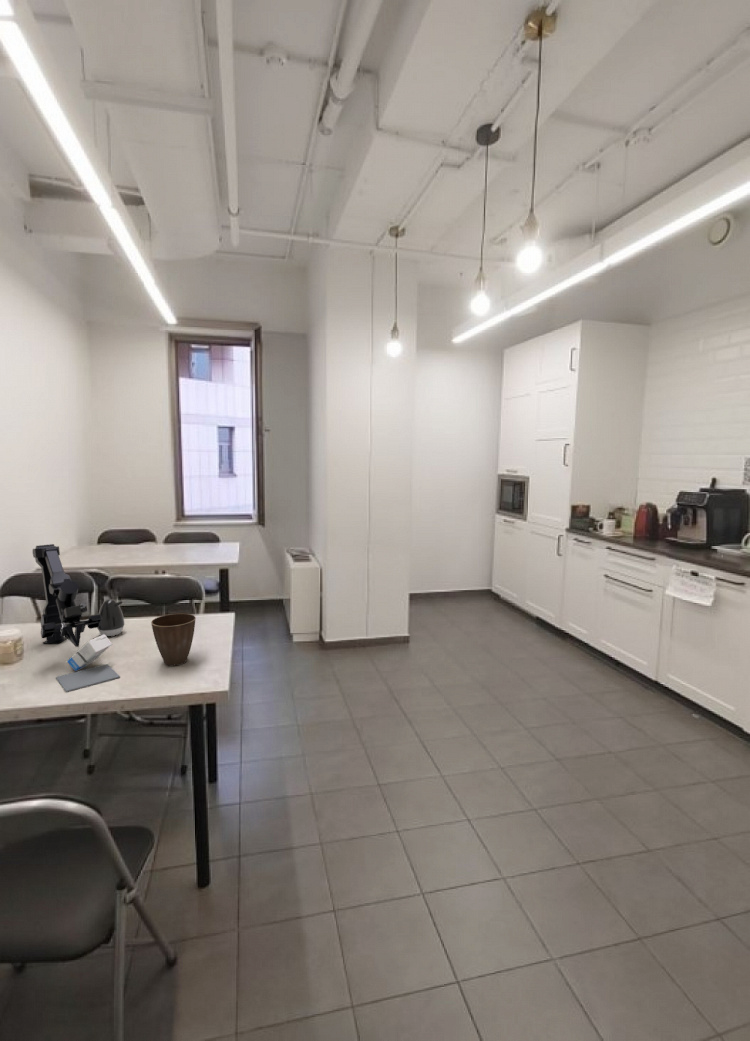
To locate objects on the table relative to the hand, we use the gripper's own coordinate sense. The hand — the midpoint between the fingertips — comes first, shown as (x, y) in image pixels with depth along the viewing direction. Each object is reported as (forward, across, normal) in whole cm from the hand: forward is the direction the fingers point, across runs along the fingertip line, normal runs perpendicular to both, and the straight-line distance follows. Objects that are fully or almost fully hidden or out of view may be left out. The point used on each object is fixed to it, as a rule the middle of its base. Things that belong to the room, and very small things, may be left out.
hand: (77, 646), depth 181 cm
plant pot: (+18, +27, -7) cm, 33 cm away
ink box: (+4, 0, +5) cm, 6 cm away
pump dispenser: (-14, +19, +26) cm, 35 cm away
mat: (+14, 0, -3) cm, 14 cm away
